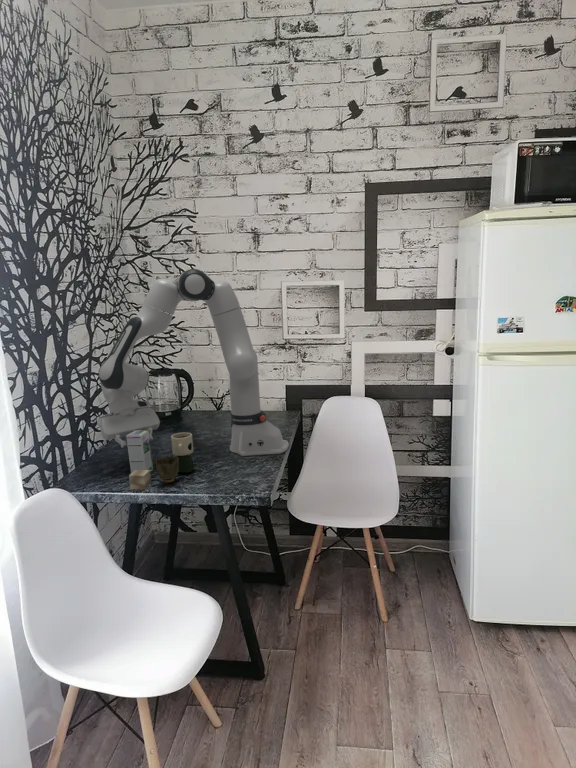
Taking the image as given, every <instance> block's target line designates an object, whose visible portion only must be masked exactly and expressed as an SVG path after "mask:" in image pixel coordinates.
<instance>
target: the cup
mask: <svg viewBox="0 0 576 768" xmlns="http://www.w3.org/2000/svg"><path fill="white" fill-rule="evenodd" d="M176 456H177V455H173V454H172V455H170V456H169V455H166V456H165V458H163V457H161V456H160V457H159V458H156V460H155V461H154V463H155V466H156V471H157V474H158V476H159V477H160V478H161V479H162V480H163V483H164V484H165V483H171V484H173V483H174V482H175V481H176V480H175V479H176V477H177V475H178V474H179V472H178V464H179V458H178V457H177V458H176ZM172 482H173V483H172Z"/></svg>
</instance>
